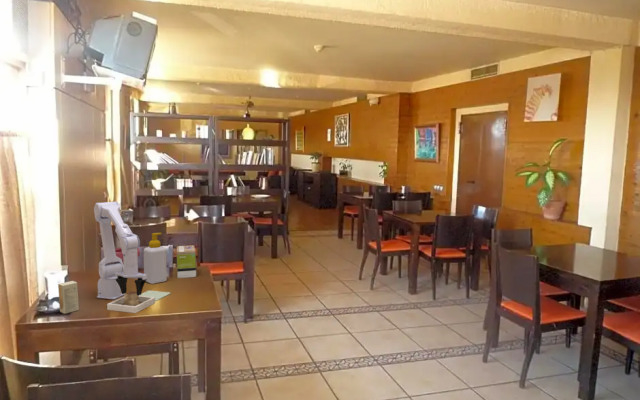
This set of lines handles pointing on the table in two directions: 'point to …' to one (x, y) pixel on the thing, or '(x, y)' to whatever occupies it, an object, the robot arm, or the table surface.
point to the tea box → (186, 261)
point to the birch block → (131, 299)
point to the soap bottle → (155, 261)
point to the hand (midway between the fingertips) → (131, 294)
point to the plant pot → (120, 255)
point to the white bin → (132, 309)
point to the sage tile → (155, 294)
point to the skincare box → (68, 297)
